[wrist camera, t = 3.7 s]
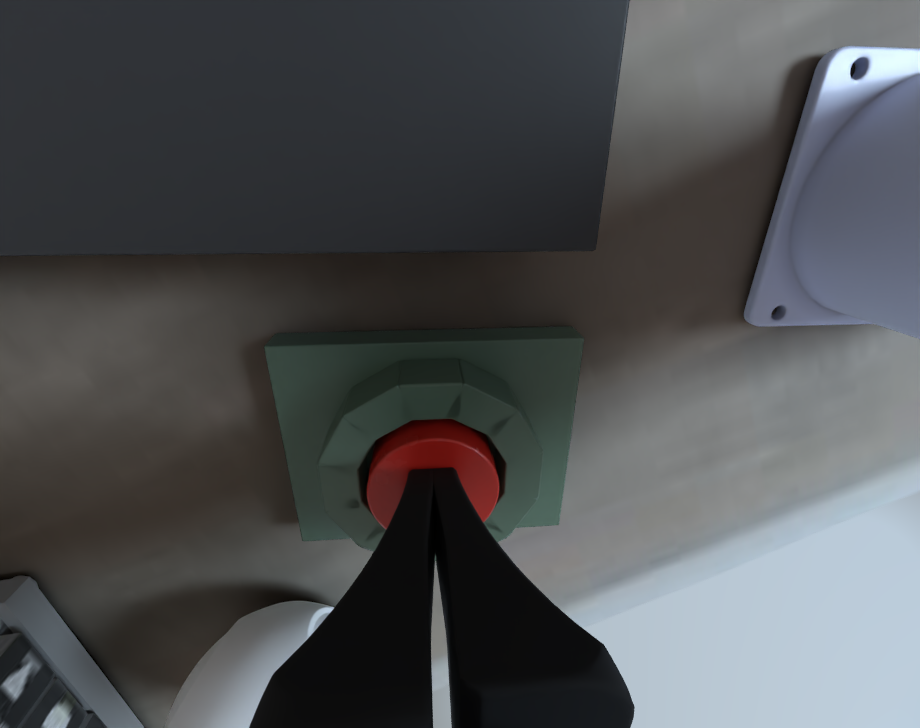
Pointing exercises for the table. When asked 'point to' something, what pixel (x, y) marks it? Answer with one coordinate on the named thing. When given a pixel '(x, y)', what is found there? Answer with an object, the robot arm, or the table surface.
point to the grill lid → (305, 125)
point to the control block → (423, 414)
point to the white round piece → (243, 666)
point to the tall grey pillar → (50, 669)
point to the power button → (431, 464)
